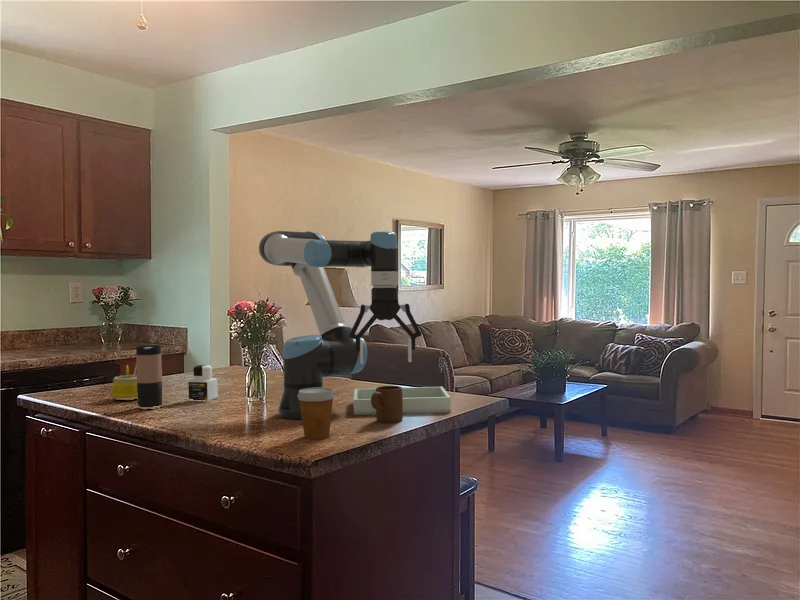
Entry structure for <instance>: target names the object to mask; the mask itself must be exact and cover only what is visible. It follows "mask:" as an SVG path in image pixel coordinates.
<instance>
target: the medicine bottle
mask: <svg viewBox="0 0 800 600" xmlns="http://www.w3.org/2000/svg"><path fill="white" fill-rule="evenodd" d="M187 383H188V384H187V385H188V400H189V399H193V400H210V399H213V398H216V397H218V396H219V391H218V390H219V389H218V378H215V377H213V367H212V366H211V365H210V364H209V365H208V364H201V365H198V364H197V365H196V366H194V367H193V379H192V380H191V379H190V380H188V382H187ZM218 398H219V397H218Z"/></svg>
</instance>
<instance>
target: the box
mask: <svg viewBox="0 0 800 600" xmlns="http://www.w3.org/2000/svg"><path fill="white" fill-rule="evenodd" d="M376 388H377V387H375V388H373V387H372V388H371V387H370V388H354V391H353V415H354V416H361V415H363V416H364V415H366V416H370V415H376V409H374V408H373V407H372V404H371V397H372V394H373V393H375V392H376ZM402 397H403V415H404V414H434V413H436V414H439V413H441V414H442V413H451V411H452V410H451V409H452V408H451V407H452V406H451V402H452V401H451V396H450V395H449V393H448V392H447V391H446V389H445V388H444V386H420V387H419V386H416V387H414V386H413V387H402Z"/></svg>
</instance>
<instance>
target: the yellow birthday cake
mask: <svg viewBox="0 0 800 600" xmlns="http://www.w3.org/2000/svg"><path fill="white" fill-rule="evenodd" d="M136 372H137V364H136V363H135V367H134V371H133V374H130V369H129V365H128V364H127V365H125V375H118V376H114V377H113V379H112V385H111V387H112V388H111V397H112V398H113V397H115V398H131V397H138V393H137V374H136Z"/></svg>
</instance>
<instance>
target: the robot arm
mask: <svg viewBox="0 0 800 600" xmlns="http://www.w3.org/2000/svg"><path fill="white" fill-rule="evenodd" d="M398 248H399V245H398V236H397V234H396V232H393V231H373V232H372V233H371V234H370V239H369V240H333V239H326V238H325V237H324V235H323V234H320V233H319V232H314V231H313V232H312V231H308V230H307V231H289V230H288V231H287V230H284V231H283V230H277V231H272V232H269V233H267V234H265V235H264V236H263V237H262V238H261V240H260V241H259V244H258V253H259V255H260V257H261V259H262V260H264V261H265V262H266V263H268V264H270V265H273V266H279V267H281V266H282V267H283V266H285V267H291V269H292V272H293V274H294V275H295V276H297V277H299V278H300V281H301V283H302V286H303V290H304V292H305V295H306V299H307V301H308V303H309V306H310V309H311V312H312V315H313V318H314V320H315V321H314V322H315V323H316V327H317V329H318V330H317V331H318V332H319V334H310V335H302V336H295V337H292V338H289V339H287V340H286V341H285V342H284V343H283V346H282V347H283V348H282V349H283V350H282V361H283V393H282V395H281V398H280V402H279V405H278V417H280V418H283V419H289V420H290V419H291V420H302V415H301V408H300V401H299V399H298V397H297V395H298V394H299V390H301V389H306V388H324V384H323V383H324V378H329V377H337V376H349V375H351V374H352V375H353V374H357V373H359V372H361V371H362V370H363V369H364V368H365V365H366V363H367V359H368V348H367V344H366V341H365V339H364V338H363V336H364V335H365V333H366V332H367V331H368V330H369V329H370V327H372V324H373V323H374V322H376V320H378V321H392V320H393V319H394V320H395V321H396V323H397V324H399V326H400V327H401V328H402V329H403V330H404V332H405V333H406V334H407V335H408V336H409V337H408V338H407V361H408V363H412V362H413V360H412V358H413V357H412V355H413V354H412V351H415V350H416V338H419V337H421V336H422V332H421V330H420V328H419V326H418V324H417V322H416V320H415V318H414V316H413V314H412V312H411V307H410V304H409V303H405V304H400V303H399V289H398V287H397V286H398V285H399V277H398V276H399V272H398V269H399V268H398V266H399V265H398V264H399V263H398V260H399V259H398V258H399V257H398V255H399V254H398V253H399V252H398V251H399V249H398ZM333 267H338V268H339V267H340V268H341V267H342V268H345V267H347V268H348V267H350V268H351V267H352V268H365V267H367V268H368V267H370V283H371V286H372V288H371V293H370V294H371V304H370V305H365V304H364V303H363V304H361V305H360V308H359V309H360V310H359V313H358V315H357V318H356V319H355V322H354V324H353V326H352V327H351V326H349V325H346V323H345V320H344V317H343V314H342V312H341V310H340V307H339V304H338V302H337V299H336V297H335V294H334V290H333V288H332V285H331V283H330V280H329V278H328V275H327V272H326V269H325V268H333ZM369 310H370V312H372V314H373V315H371V316H370V318H369V320H368V321H367V322H366V323H365V325H363V326H362V328H361V329H360V330H359V332H358V333H357V334H356V332H357V330H358V329H359V326H360V324H361V322H362V319H363V317H364V315H365V314H366V313H368V311H369ZM400 310H401V311H402V312H404V313H405V314H406V316H407V318H408V321H409V323H410V324H411V326H412V328H413V330H414V332H413V331H412V330H411V329H410V328H409V326H407V325H406V323H405V322H404V321H403V320H402V319H401V317H399V315H398V312H399V311H400Z"/></svg>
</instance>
